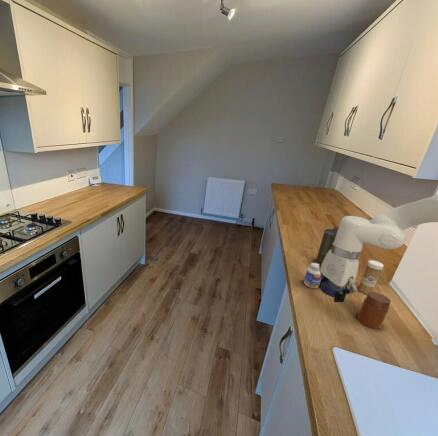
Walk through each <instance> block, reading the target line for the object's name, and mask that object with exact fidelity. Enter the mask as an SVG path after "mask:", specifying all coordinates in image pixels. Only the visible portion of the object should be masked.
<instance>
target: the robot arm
mask: <svg viewBox="0 0 438 436" xmlns="http://www.w3.org/2000/svg"><path fill="white" fill-rule="evenodd" d="M430 223H438V194H435V195H433V196H430V197H425V198H421V199H418V200H415V201H412V202H407V203H404V204H402V205H399V206H396V207H394V208H391V209H389V210H387V211H384V212H383V213H380V214H378V215H376V216H374V217H372V218H371V219H367V218H364V217H360V216H357V215H345V216H343V217H342V218H341V219H340V223H339V226H338V227H339V228H338V231H337V234H336V237H335V240H334V242H333V243H332V245H333V247H332V249H331V250H329V251H328V253H327V254H326V256H325V258H324V260H323V263H322V264H320V265H319V268H320V274H321V276H320V278H321V280H320V283H319V286H318V289H320V286H321V283H322V281H324V280H329V281H332V282H333V283H334V284H336V285H337V286H338V288H339V292H337V293H336V295H335V298H334V297H333V298H334V299H333V302H334V303H344V302H345V299H346V296H347V295H350V294H354V293H358V291H359V289H358V287H357V285H356V283H355V281H356V278H357V276H358V271H359V265H360V261H359V258H360V256H361V253H362V250H363V248H364V246H365V244H368V245H370V246H373V247H377V248H380V249H383V250H396V249H398V248H401V247H402V246H403V245H404V244H405V242H406V234H405V233H404V230H406V229H409V228H412V227H415V226H419V225H423V224H430ZM343 287H344V288H345V290H343Z"/></svg>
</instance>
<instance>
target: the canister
mask: <svg viewBox="0 0 438 436" xmlns="http://www.w3.org/2000/svg"><path fill="white" fill-rule="evenodd" d="M338 228H339V226H333V228H326V229H324V230H323V235H322V239H321V242H320V244H319V245H320V246H319V249H318V252H317V254H316V255H317V256H316V258H315V261H314V263H317V264H322V263H323V260H324V258H325V256H326V254H327V253H328V251H329V250H331V249H332V247H333V245H332V243H333V242H334V240H335V237H336V234H337V231H338Z"/></svg>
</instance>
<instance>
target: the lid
mask: <svg viewBox="0 0 438 436" xmlns="http://www.w3.org/2000/svg"><path fill="white" fill-rule="evenodd" d="M319 289H320V292H322V293H323V294H325V295H326V296H328V297H331V298H335V295H336V293H337V292H339V288H338V286H337V285H336V284H334V283H333V282H332V281H329V280H324V281H322V283H321V286H320V288H319ZM343 290H345V287H343Z"/></svg>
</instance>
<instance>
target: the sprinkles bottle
mask: <svg viewBox="0 0 438 436" xmlns="http://www.w3.org/2000/svg"><path fill="white" fill-rule="evenodd" d="M383 268H384V264H383V263H382V262H380V261H378V260H372V259H369V260H367V264H366V267H365V270H364V272H363V274H362V277H361V279H360V283H359V286H358V287H357V290H358V291H360V292H361V293H364V294H368V293H369V292H374V289H375V287H376V285H377V282H378V279H379V277H380V274H381V271H382V270H383Z"/></svg>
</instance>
